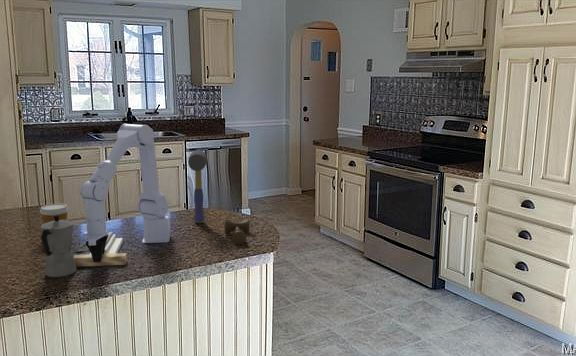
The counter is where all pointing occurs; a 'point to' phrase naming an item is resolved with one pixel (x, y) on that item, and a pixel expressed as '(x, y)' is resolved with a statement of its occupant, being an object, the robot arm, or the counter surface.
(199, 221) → the rubber mallet
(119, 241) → the ridge block
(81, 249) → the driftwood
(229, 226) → the kendama
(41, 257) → the counter surface
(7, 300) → the counter surface
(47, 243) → the coffeepot
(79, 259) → the oak bar
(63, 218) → the disposable coffee cup
